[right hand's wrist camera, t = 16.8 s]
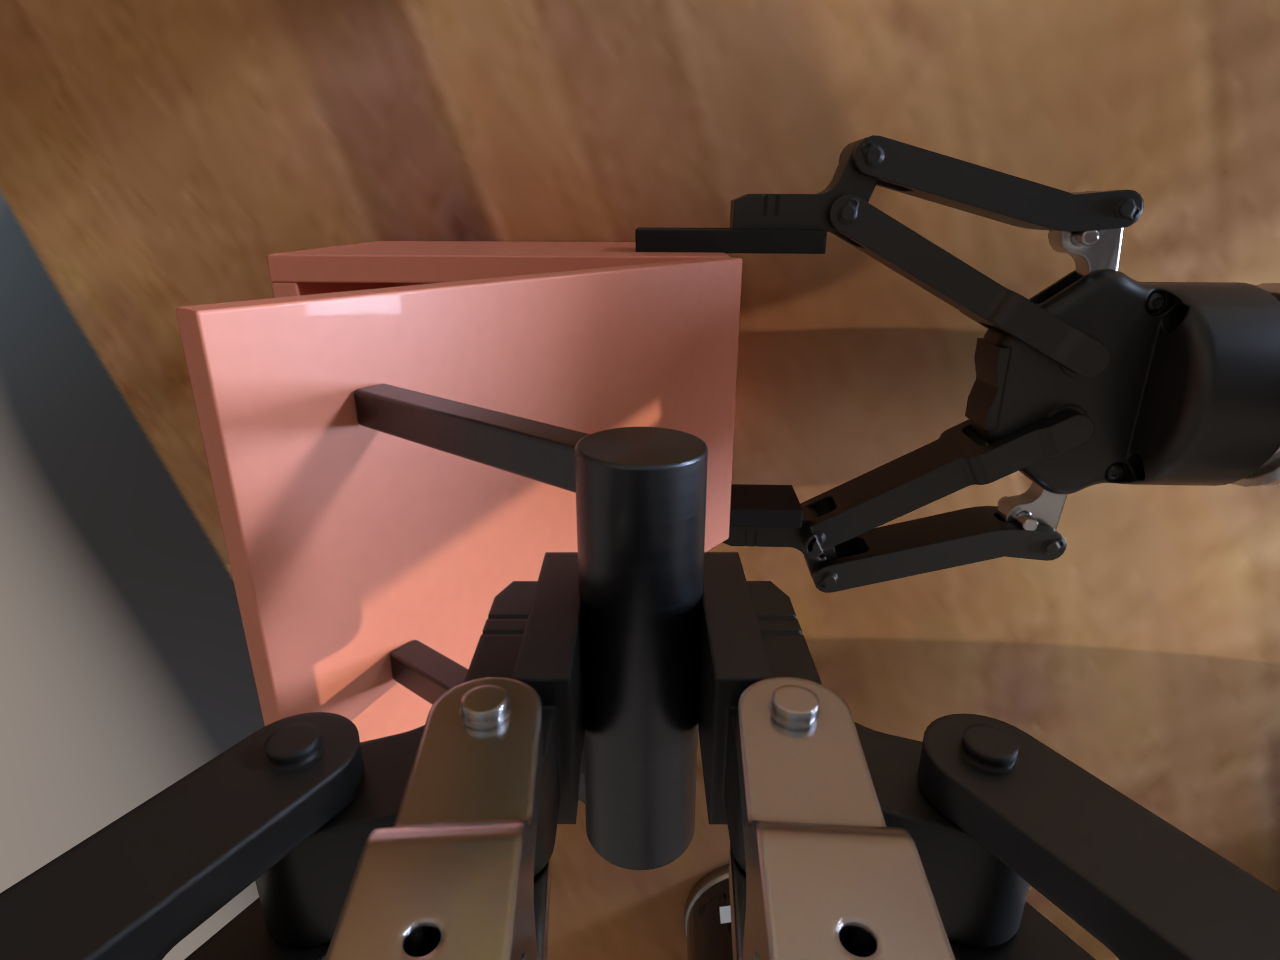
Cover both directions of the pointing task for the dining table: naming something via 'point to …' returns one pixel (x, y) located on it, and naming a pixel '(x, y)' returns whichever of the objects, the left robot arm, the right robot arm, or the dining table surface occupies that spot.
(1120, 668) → the dining table surface
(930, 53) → the dining table surface
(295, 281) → the chest
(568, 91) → the dining table surface
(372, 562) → the lid
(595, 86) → the dining table surface
